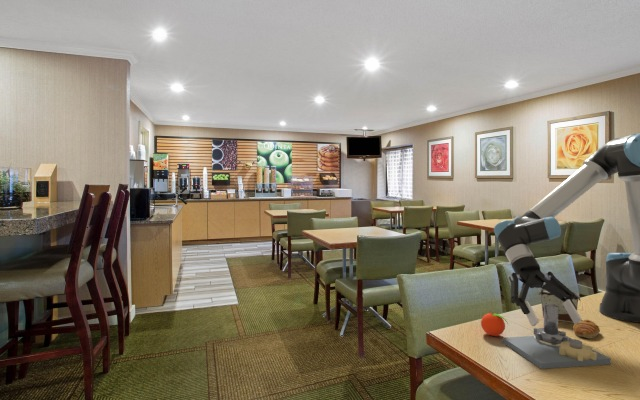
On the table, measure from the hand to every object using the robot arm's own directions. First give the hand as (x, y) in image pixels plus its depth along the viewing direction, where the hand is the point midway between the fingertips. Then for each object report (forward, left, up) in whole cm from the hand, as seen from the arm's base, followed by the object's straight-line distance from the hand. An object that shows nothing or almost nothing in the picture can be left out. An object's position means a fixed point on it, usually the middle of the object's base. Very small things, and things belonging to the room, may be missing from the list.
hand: (557, 323), depth 104 cm
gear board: (+3, +2, -7) cm, 8 cm away
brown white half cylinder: (-20, -23, -8) cm, 31 cm away
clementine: (+12, -11, -8) cm, 18 cm away
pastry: (-18, -9, -8) cm, 21 cm away
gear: (0, -2, -6) cm, 6 cm away
